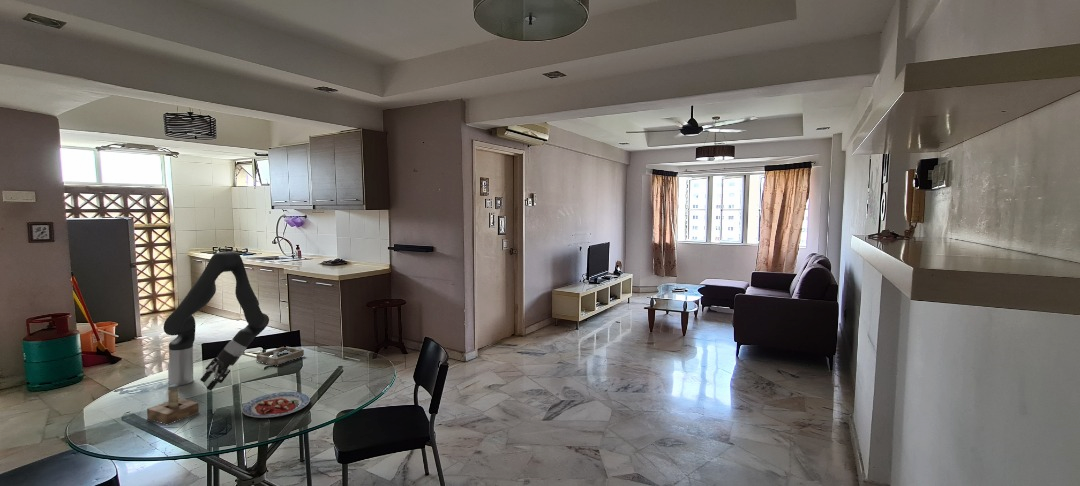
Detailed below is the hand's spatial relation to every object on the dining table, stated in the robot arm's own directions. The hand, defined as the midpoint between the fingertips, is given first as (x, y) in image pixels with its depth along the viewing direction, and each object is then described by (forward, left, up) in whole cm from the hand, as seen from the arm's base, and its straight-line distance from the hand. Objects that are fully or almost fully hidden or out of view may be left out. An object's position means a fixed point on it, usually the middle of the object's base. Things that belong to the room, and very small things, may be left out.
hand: (205, 385), depth 198 cm
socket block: (-3, -11, -9) cm, 15 cm away
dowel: (-3, -11, -9) cm, 14 cm away
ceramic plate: (+27, +12, -10) cm, 31 cm away
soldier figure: (-25, +55, -10) cm, 61 cm away
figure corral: (-24, +58, -9) cm, 63 cm away
